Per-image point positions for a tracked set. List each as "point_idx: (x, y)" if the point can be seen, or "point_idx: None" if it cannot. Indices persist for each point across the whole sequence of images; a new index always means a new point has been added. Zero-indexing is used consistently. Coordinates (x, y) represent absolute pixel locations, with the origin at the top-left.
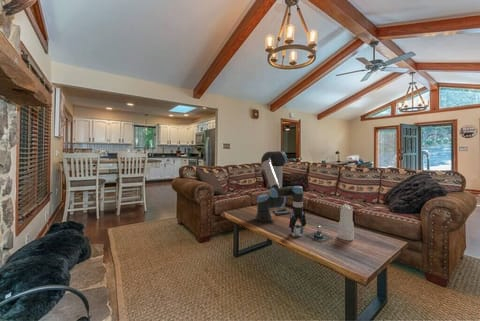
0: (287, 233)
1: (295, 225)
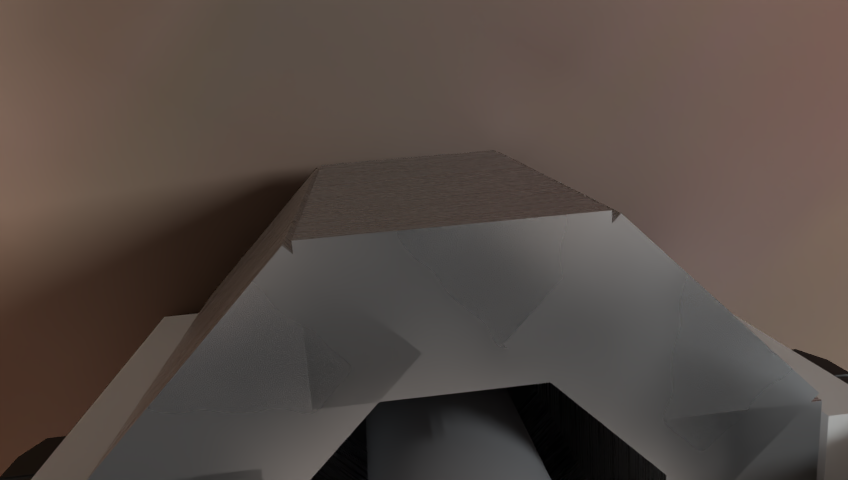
0: (179, 7)
1: (488, 360)
